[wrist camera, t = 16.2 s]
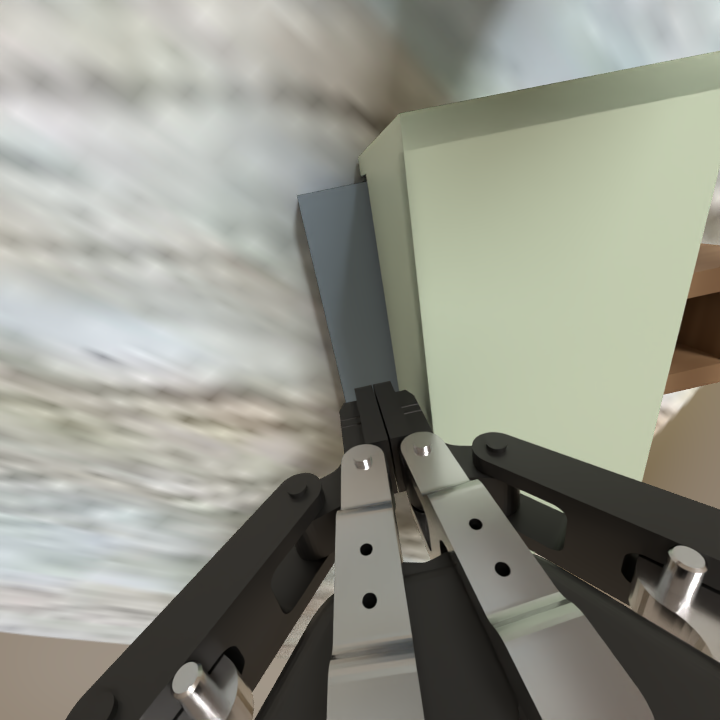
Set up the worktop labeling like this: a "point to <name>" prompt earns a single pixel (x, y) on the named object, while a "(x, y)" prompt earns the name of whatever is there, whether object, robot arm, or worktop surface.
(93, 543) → the worktop surface
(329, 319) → the base
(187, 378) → the worktop surface
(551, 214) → the cover
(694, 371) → the wooden box
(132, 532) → the worktop surface
